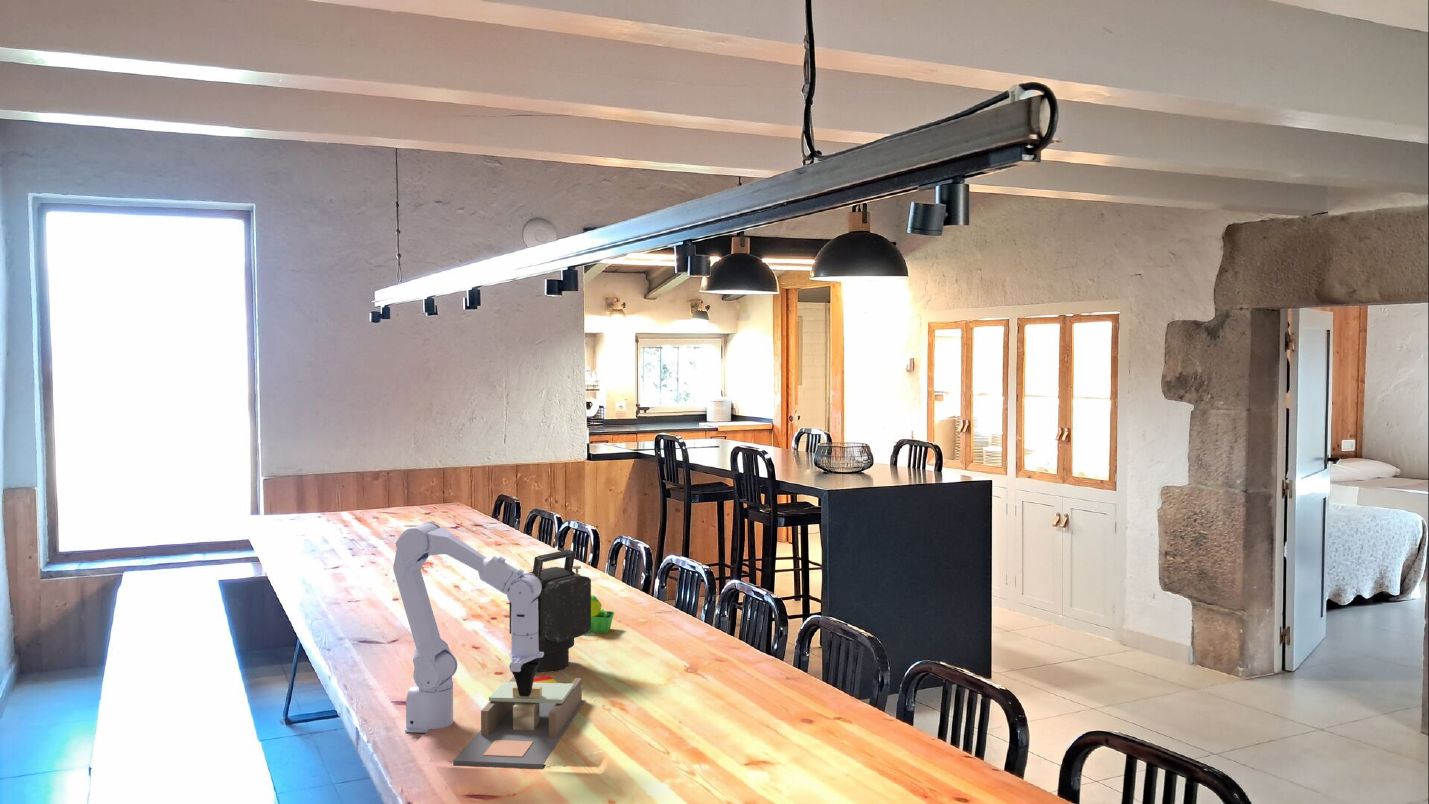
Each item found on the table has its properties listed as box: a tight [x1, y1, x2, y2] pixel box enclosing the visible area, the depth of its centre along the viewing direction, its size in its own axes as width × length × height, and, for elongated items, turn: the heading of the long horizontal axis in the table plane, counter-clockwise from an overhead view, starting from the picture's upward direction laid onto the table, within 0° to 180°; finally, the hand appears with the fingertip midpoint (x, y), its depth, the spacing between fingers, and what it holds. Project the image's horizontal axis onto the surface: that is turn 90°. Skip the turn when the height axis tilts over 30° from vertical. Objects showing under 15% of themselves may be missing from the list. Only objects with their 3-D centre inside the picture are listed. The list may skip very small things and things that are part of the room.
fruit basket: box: [587, 594, 615, 634], centre depth 299 cm, size 11×9×11 cm
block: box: [513, 702, 539, 730], centre depth 217 cm, size 4×4×5 cm
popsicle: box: [533, 675, 559, 683], centre depth 244 cm, size 6×15×2 cm, turn 28°
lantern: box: [508, 549, 592, 674], centre depth 263 cm, size 15×18×30 cm
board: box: [452, 676, 586, 770], centre depth 216 cm, size 18×38×6 cm, turn 175°
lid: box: [488, 681, 574, 704], centre depth 222 cm, size 16×11×3 cm
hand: (524, 695), depth 216 cm, fingers closed
